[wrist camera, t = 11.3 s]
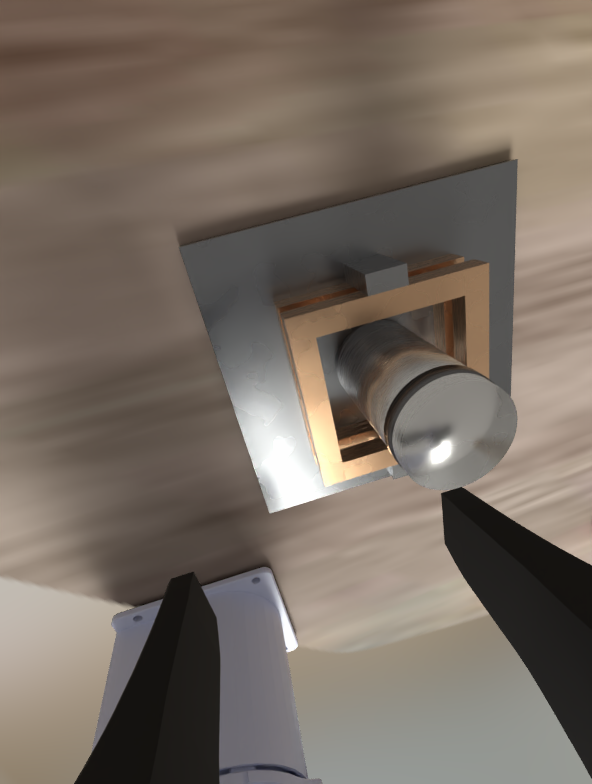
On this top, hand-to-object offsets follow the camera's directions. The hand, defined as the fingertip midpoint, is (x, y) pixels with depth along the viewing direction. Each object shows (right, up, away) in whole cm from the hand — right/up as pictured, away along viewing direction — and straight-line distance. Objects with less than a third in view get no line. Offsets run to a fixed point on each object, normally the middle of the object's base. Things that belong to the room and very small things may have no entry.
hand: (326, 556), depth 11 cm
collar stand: (+3, +6, +8) cm, 11 cm away
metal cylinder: (+3, +6, +8) cm, 10 cm away
